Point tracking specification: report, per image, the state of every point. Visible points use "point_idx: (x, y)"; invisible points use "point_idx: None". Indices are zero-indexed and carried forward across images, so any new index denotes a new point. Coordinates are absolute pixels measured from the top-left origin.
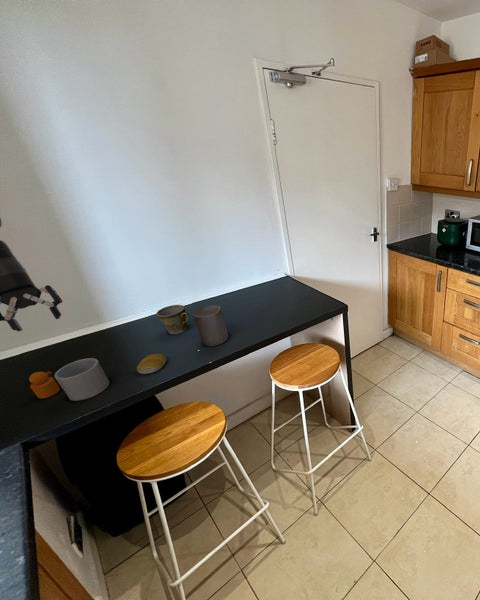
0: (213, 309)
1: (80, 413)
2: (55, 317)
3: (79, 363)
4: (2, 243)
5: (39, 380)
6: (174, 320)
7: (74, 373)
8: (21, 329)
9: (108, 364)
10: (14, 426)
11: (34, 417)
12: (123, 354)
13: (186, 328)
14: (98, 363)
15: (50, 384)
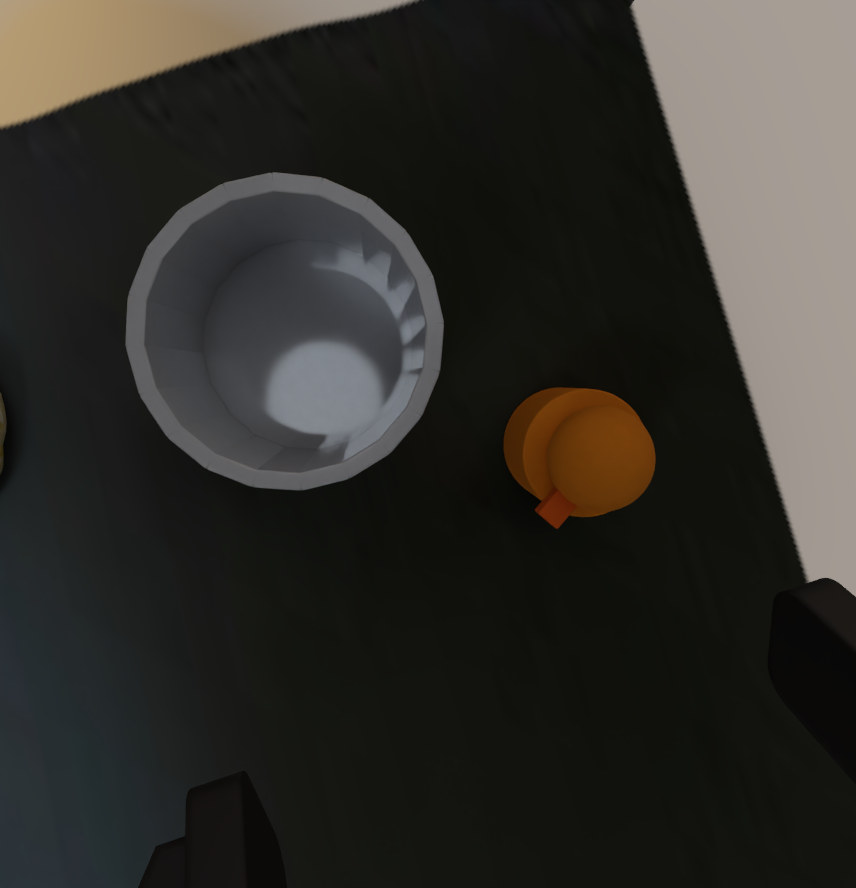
0: None
1: (292, 64)
2: (232, 791)
3: (315, 466)
4: None
5: (582, 410)
6: None
7: (374, 434)
8: (781, 658)
9: (265, 644)
10: (638, 143)
11: (557, 181)
12: (188, 749)
13: None
14: (130, 349)
15: (528, 416)
